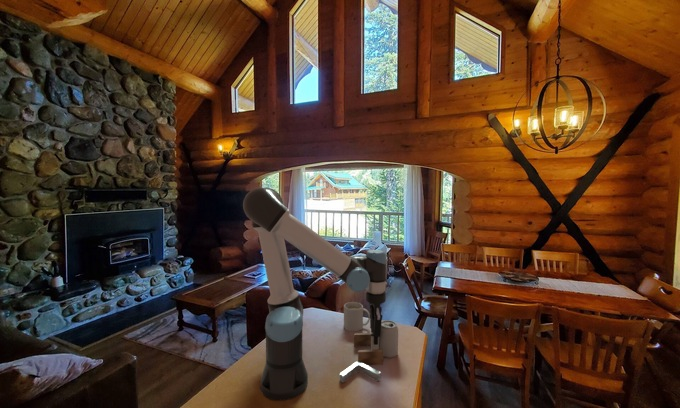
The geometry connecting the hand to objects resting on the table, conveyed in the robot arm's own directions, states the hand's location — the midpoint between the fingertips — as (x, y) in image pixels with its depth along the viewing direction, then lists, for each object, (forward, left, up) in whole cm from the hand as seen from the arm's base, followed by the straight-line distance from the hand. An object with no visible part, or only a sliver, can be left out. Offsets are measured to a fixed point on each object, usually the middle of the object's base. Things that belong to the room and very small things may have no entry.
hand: (374, 350), depth 110 cm
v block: (-8, -12, -1) cm, 14 cm away
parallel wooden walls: (-3, 0, -1) cm, 3 cm away
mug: (-5, +22, -2) cm, 23 cm away
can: (+5, 0, -2) cm, 6 cm away
